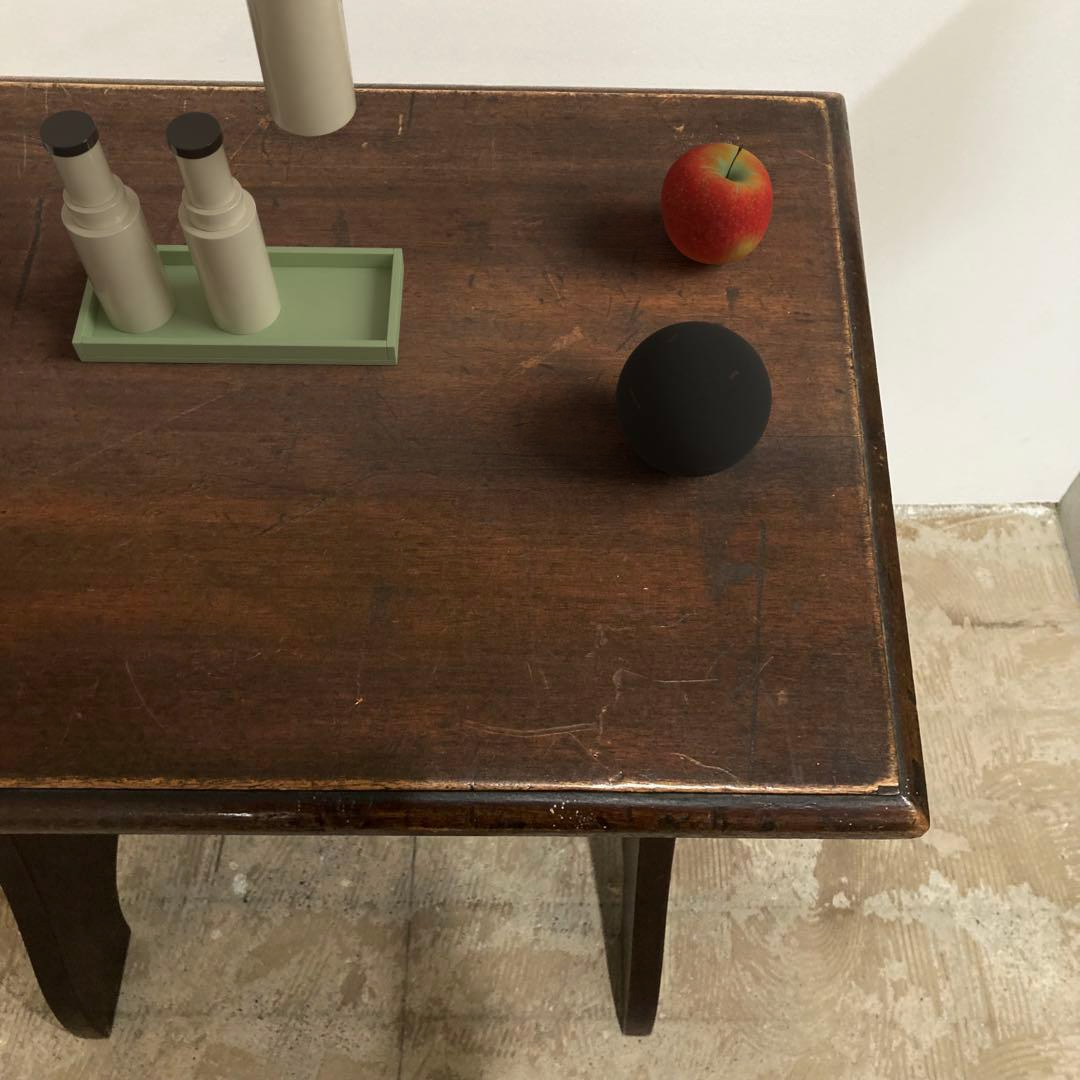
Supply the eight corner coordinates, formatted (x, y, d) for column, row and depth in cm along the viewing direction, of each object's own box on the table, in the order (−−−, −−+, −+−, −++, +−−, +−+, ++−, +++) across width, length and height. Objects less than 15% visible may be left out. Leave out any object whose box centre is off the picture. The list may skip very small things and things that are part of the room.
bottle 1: (99, 333, 81) (15, 156, 67) (112, 279, 84) (33, 98, 70) (170, 334, 81) (101, 158, 68) (181, 280, 84) (116, 100, 70)
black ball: (583, 462, 78) (592, 370, 69) (654, 363, 82) (671, 265, 73) (714, 530, 75) (740, 444, 67) (780, 425, 80) (813, 331, 71)
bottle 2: (206, 334, 82) (144, 158, 68) (215, 281, 84) (157, 101, 70) (276, 335, 82) (229, 160, 68) (284, 282, 84) (239, 102, 70)
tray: (81, 362, 81) (71, 342, 79) (105, 263, 85) (96, 243, 84) (397, 365, 81) (394, 346, 80) (404, 267, 86) (401, 247, 84)
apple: (662, 202, 90) (678, 96, 81) (764, 219, 89) (792, 114, 80) (646, 278, 86) (661, 176, 77) (753, 296, 85) (781, 195, 77)
